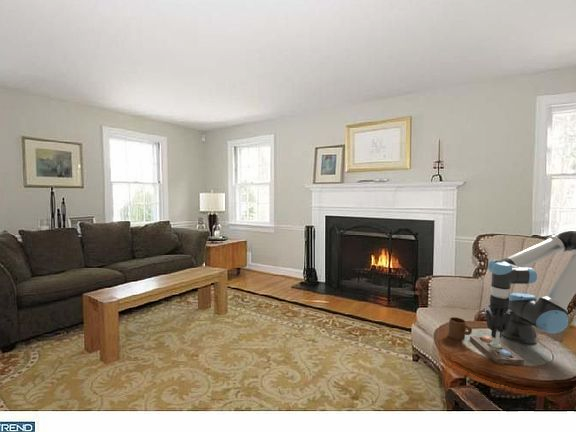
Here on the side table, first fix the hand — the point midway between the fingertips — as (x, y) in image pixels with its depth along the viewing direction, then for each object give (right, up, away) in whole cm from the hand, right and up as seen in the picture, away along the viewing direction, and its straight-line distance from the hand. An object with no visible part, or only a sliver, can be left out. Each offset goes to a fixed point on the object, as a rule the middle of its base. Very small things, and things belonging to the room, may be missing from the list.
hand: (495, 343), depth 154 cm
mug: (-11, -3, +12) cm, 16 cm away
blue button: (0, -4, -7) cm, 8 cm away
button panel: (0, -4, 0) cm, 4 cm away
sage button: (0, -3, 0) cm, 3 cm away
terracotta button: (0, -3, +7) cm, 8 cm away
